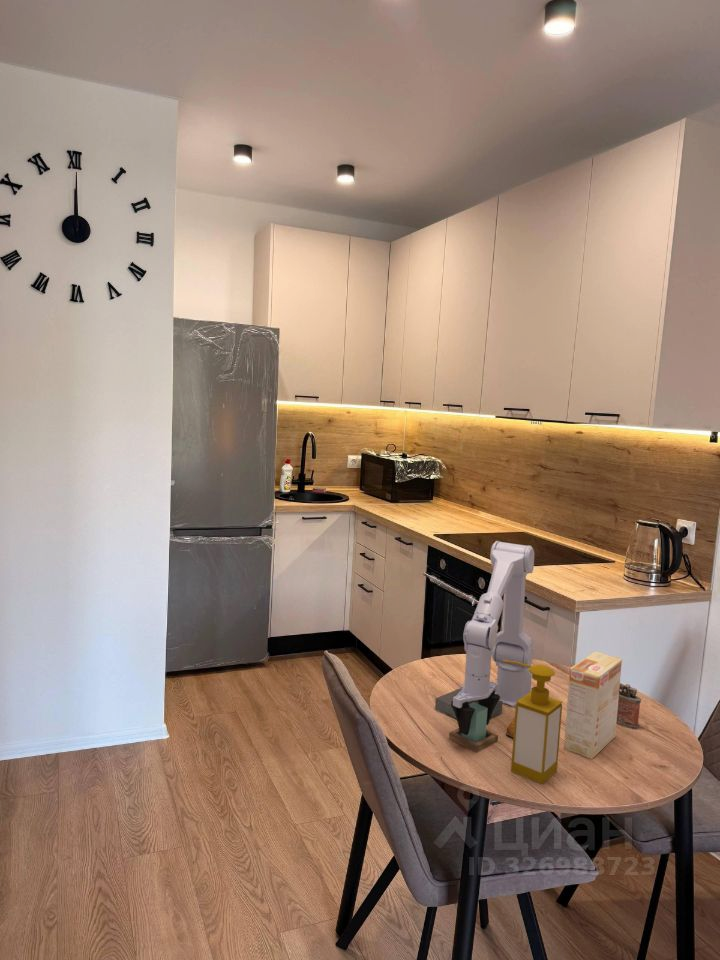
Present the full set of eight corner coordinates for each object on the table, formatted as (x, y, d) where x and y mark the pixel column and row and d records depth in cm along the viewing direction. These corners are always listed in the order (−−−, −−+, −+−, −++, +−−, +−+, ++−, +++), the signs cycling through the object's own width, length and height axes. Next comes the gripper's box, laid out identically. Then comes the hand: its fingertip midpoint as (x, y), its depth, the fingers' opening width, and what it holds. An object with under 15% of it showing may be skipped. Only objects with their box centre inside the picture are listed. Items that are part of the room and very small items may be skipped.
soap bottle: (503, 749, 154) (510, 649, 152) (556, 770, 146) (565, 665, 144) (488, 761, 149) (495, 658, 146) (542, 784, 141) (551, 675, 138)
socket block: (464, 696, 181) (465, 686, 181) (501, 713, 173) (502, 702, 172) (435, 709, 173) (435, 698, 173) (472, 727, 164) (473, 715, 164)
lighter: (640, 726, 169) (644, 688, 168) (635, 730, 166) (639, 691, 165) (608, 715, 174) (612, 677, 173) (603, 719, 172) (606, 681, 171)
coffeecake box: (587, 726, 167) (594, 650, 165) (616, 737, 163) (623, 658, 161) (561, 748, 156) (568, 667, 154) (592, 760, 151) (599, 676, 149)
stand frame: (470, 728, 164) (470, 722, 164) (497, 741, 158) (498, 735, 158) (448, 738, 158) (449, 732, 158) (476, 752, 153) (476, 746, 152)
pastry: (521, 744, 157) (522, 729, 157) (498, 733, 162) (499, 718, 162) (545, 733, 163) (546, 718, 163) (522, 722, 169) (523, 708, 168)
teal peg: (471, 734, 161) (473, 702, 160) (485, 740, 158) (487, 708, 157) (461, 739, 158) (463, 706, 157) (474, 746, 155) (476, 713, 154)
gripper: (482, 659, 164) (479, 713, 166) (443, 674, 154) (440, 730, 156) (507, 668, 159) (503, 723, 161) (468, 684, 149) (464, 743, 151)
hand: (473, 728), depth 158 cm, fingers open, 7 cm apart
